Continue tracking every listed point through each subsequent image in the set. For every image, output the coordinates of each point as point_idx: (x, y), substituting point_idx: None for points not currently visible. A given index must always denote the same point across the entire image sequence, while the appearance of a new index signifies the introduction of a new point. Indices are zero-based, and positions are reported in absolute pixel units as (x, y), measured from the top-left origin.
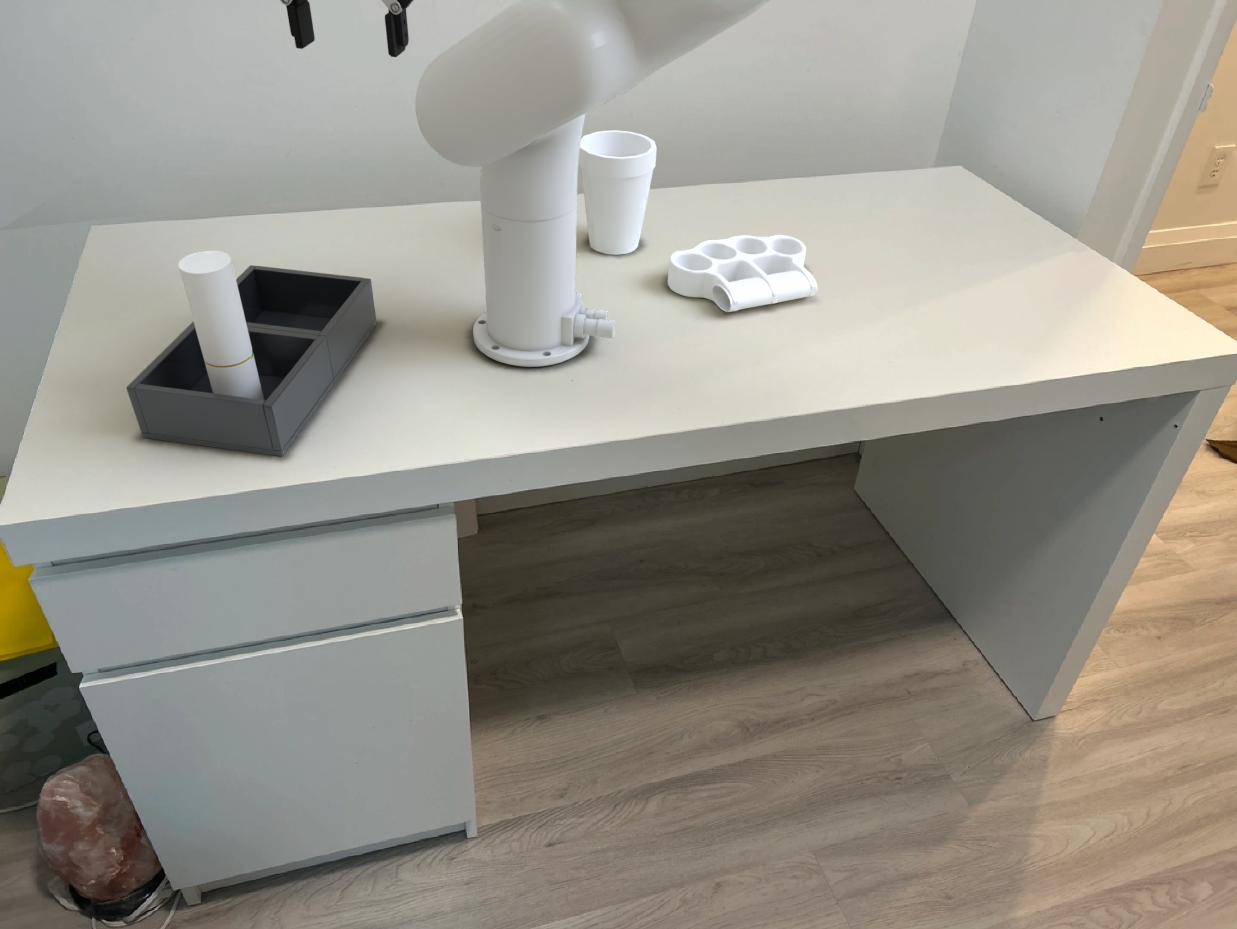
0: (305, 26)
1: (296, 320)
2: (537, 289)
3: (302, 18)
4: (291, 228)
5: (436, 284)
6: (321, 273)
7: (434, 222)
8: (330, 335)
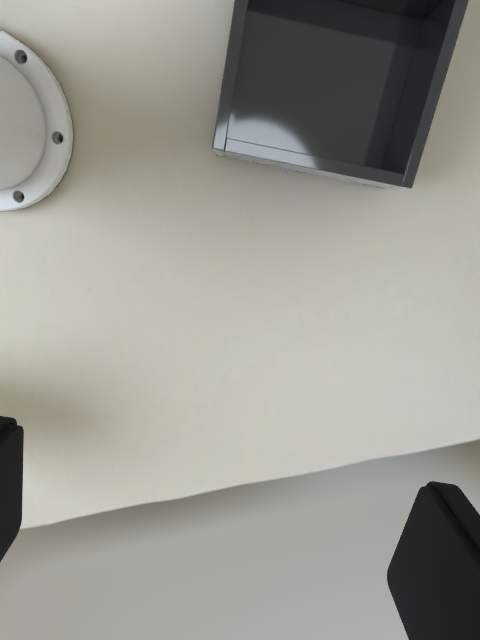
0: (441, 592)
1: (327, 146)
2: None
3: (472, 623)
4: (375, 418)
5: (156, 275)
6: (294, 163)
7: (191, 445)
8: None
